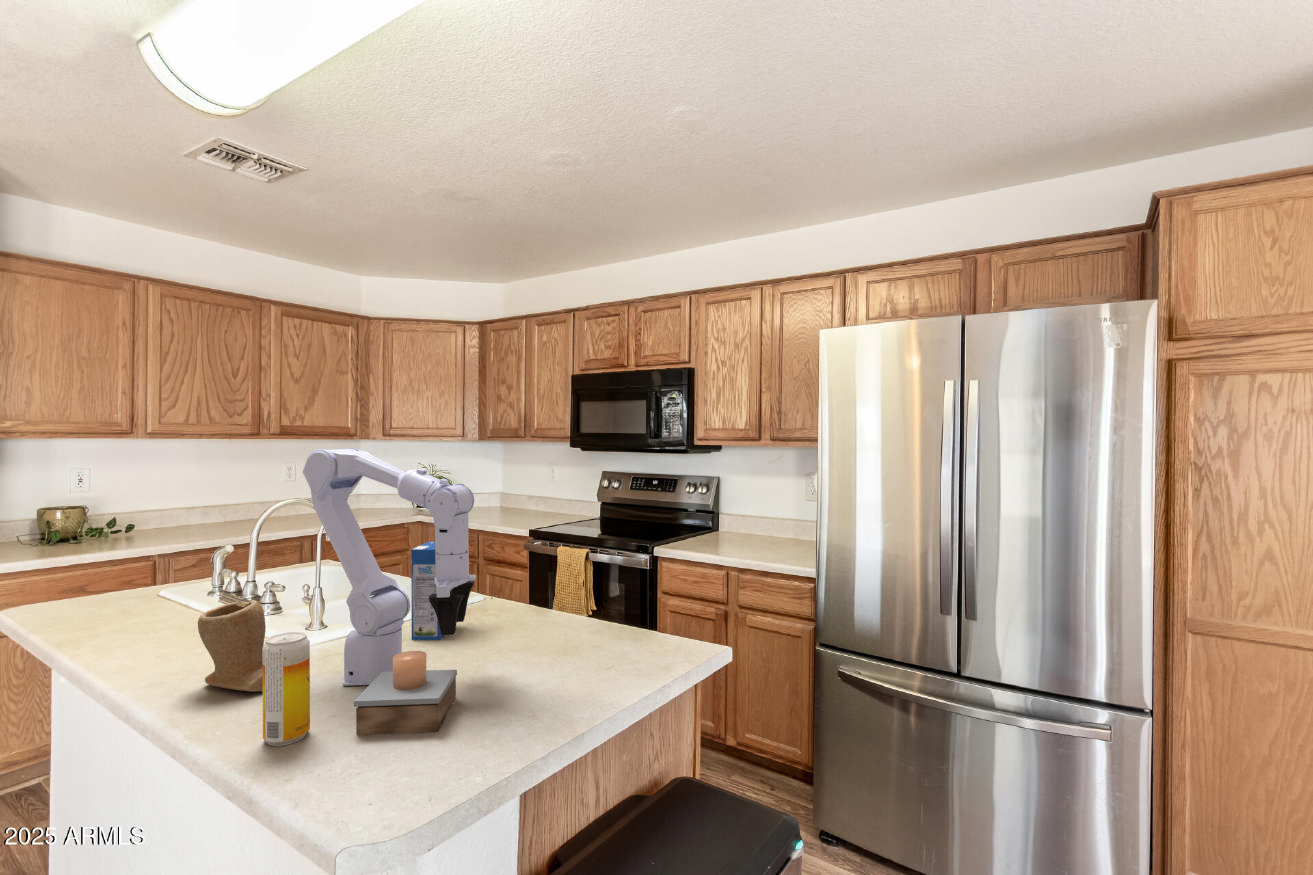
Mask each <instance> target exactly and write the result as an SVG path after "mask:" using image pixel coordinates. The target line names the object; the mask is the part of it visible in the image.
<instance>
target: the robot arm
mask: <svg viewBox="0 0 1313 875" xmlns="http://www.w3.org/2000/svg"><path fill="white" fill-rule="evenodd" d="M302 474H303V477H305V479H306V482H307V484H308V486H309V489H310V495H311V503H312V505H313V508H314V510H315V512H316V515H317V516H318V518H319V521H320V523H321V525H322V527H323V529H324V532H325V533H326V536H327V537H328V539H329V540H328V541H329V542H330V543H331V545H332V548H333V550H334V552H335V553H336V556H337V558H338V560H339V562H340V565H341V566H342V568H343V570H344V572H345V575H346V577H347V579H348V581H349V583H350V585H351V586H352V587H351V588H352V589H351V590H350V592H349V594H348V596H347V598H346V601H345V602H346V604H347V606H348V610H349V618H350V619H349V620H350V623H351V625H352V628H354V629H355V630H350V631H349V632H348V634H347V635H346V638H345V641H344V642H345V643H344V648H343V666H344V667H343V670H344V671H343V682H342V686H348V687H349V686H369V685H370V684H371V683H372V682H373V681H374V680H375V679H376V678H377V677H378V676H379V675H380V674H381V673H382V672H393V657H394V656H395V655H397V654H399V653H403V644H402V643H403V642H402V641H403V640H402V638H403V636H402V635H403V628H402V627H403V625H404V622H405V621H404V620H405V618H406V617H407V616H408V615H409V612H410V610H411V601H410V597H409V595H408V594H407V592H405V591H404V590H403V589H401V587H399V585H398V583H397V581H396V580H395V578H392V577H390V576H388V575H386V574H384V573H383V572H382V570H381V568H380V566H379V564H378V562H377V561H376V560H377V559H376V558H375V556H374V554H373V552H372V550H371V547H370V545H369V544H368V541H367V539H366V537H365V535H364V533H363V531H362V529H361V528H360V525H359V523H358V521H357V519H356V517H355V515H354V513H353V511H352V508H351V507H350V505H349V502H348V500H349V497H350V495H351V494H352V493H353V491H354V490H355V488H356V487H357V486H358V485H359V484H360V482H361V480H362V479H363V478H367V479H370V480H373V481H376V482H378V483H380V484H384V485H387V486H388V487H392V488H395V489H396V490H397V493H398V496H399V497H400V498H401V499H403V500H406V501H409V502H411V503H413V504H415V505H417V506H420V507H421V508H424V509H427V510H428V512H429V513H430V515H431V517H432V518H433V519H432V520H433V526H434V532H435V534H434V535H435V536H434V537H435V540H434V542H435V556H436V577H435V584H436V586H437V594H431V595H430V596H429V602H430V603H431V605H432V606H433V608H434V610H435V613H436V615H437V619H438V623H439V627H440V631H441V634H442V635H445V636H453V635H455V633H456V630H457V623H462V622H464V621H465V617H466V613H467V607H468V602H469V598H470V594H471V592H472V589H473V587H474V585H475V580H476V579H477V575H476V574H470V556H469V555H470V552H469V550H470V549H469V548H470V546H469V544H470V543H469V513H470V512H471V511H472V509H473V508H474V505H475V496H474V493H473V492H472V489H470V488H469V487H467V486H466V485H465V484H464V483H455V484H452V485H451V484H450V483H449V479H446V478H441V479H440V478H439V477H435V476H433V475H431V474H428V470H427V469H425V468H417V469H415V468H413V469H409V470H408V471H404V470H403V469H400V468H398V467H396V466H395V465H393V464H391V463H388V462H386V461H384V460H382V459H380V458H379V457H376V456H374V455H372V454H371V453H370V452H368V451H365V450H361V449H358V448H356V447H352V448H341V449H340V448H339V449H337V448H336V449H323V448H318V449H315V450H313V451H312V452H310V453H309V454H308V456H307V458H306V461H305V463H304V466H303V470H302Z"/></svg>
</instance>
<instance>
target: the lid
mask: <svg viewBox="0 0 1313 875" xmlns="http://www.w3.org/2000/svg"><path fill="white" fill-rule="evenodd" d="M457 675H458V669H456V668H455V669H433V670H432V669H431V670H427V669H426V684H425V685H423V686H421V687H419V688H415V689H410V690H398V689H395V688H394V687H393V672H382V673H381V674H380V675H379V676H378V677H377V678H376V679H375V680H374V681H373V682H372V683H371V684H370V685H367V687H366V688H365V689H364V690H363V691H362V693H360V694H359V696H357V697H356V698H355V699H354V701H353V707H354V708H355V707H356V708H357V707H358V706H384V705H411V704H437V703H439V702H440V701H441V699H442V698H443V696H444V694H445V693H446V691H447V690H448V688H449V686H450V685H451V683H452V681H453V680H454V678H455V677H456V678H457Z"/></svg>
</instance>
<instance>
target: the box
mask: <svg viewBox="0 0 1313 875" xmlns="http://www.w3.org/2000/svg"><path fill="white" fill-rule="evenodd" d="M456 694H457V676H456V677H455V678H454V680H453V681H452V683H451V685H450V686H449V688H448V690H447V691H446V693H445V694H444V696H443V698H442V699H441V701H440V702H439V703H437V704H411V705H384V706H357V707H356V712H355V713H356V714H355V716H356V717H355V718H356V719H355V720H356V722H355V723H356V724H355V725H356V726H355V727H356V728H355V729H356V731H355V732H356V735H357V736H358V735H359V736H360V735H361V736H362V735H382V734H383V735H385V734H409V733H412V734H413V733H433V732H436V733H437V732H439V731H440V728H441V727H442V725H443V724H444V721H445V720H446V718H447V716H448V714H449V712H450V711H451V709H452V707H453V706H454V703H455V702H456V699H457V695H456Z"/></svg>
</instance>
